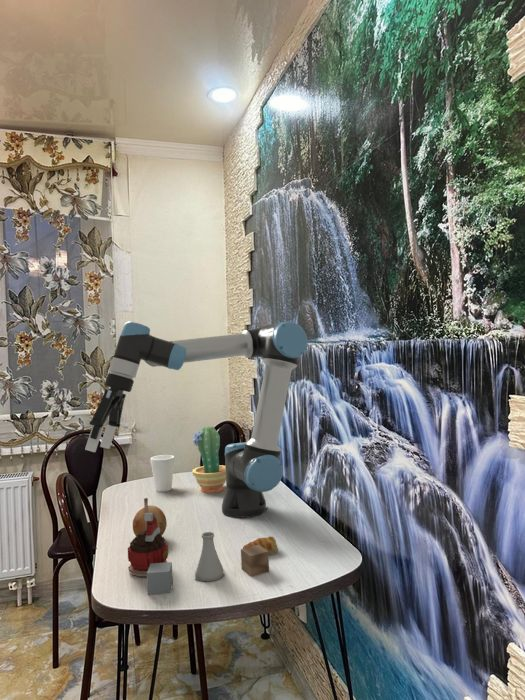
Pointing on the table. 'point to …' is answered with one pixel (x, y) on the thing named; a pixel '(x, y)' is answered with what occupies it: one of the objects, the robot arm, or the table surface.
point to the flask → (209, 560)
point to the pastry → (265, 544)
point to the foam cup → (162, 472)
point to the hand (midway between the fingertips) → (97, 449)
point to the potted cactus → (209, 461)
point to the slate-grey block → (159, 578)
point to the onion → (140, 522)
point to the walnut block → (254, 560)
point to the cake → (147, 546)
